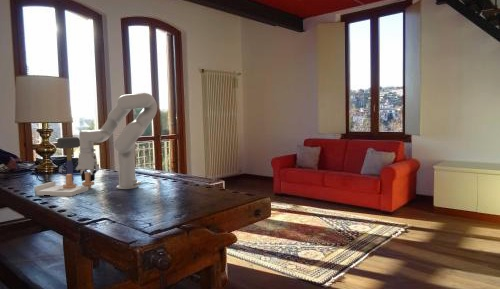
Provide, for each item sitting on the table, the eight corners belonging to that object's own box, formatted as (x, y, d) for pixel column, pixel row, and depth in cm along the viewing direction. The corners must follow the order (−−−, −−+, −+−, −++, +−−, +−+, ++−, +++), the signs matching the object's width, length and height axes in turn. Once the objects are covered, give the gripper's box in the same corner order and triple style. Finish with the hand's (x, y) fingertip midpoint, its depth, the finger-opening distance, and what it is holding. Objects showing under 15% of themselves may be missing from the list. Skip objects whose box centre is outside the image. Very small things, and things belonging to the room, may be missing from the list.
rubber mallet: (63, 184, 235) (61, 137, 232) (58, 182, 240) (56, 137, 237) (82, 181, 244) (80, 136, 242) (77, 180, 249) (75, 136, 247)
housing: (88, 190, 216) (87, 173, 215) (71, 196, 200) (70, 178, 199) (54, 189, 219) (53, 172, 218) (34, 195, 203) (34, 177, 202)
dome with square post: (96, 187, 224) (96, 171, 223) (90, 189, 217) (89, 173, 216) (86, 187, 225) (85, 171, 224) (79, 189, 218) (79, 173, 217)
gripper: (103, 150, 222) (104, 179, 223) (77, 150, 224) (78, 179, 225) (96, 151, 214) (97, 182, 216) (69, 151, 217) (71, 181, 218)
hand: (88, 180), depth 221 cm, fingers open, 5 cm apart
